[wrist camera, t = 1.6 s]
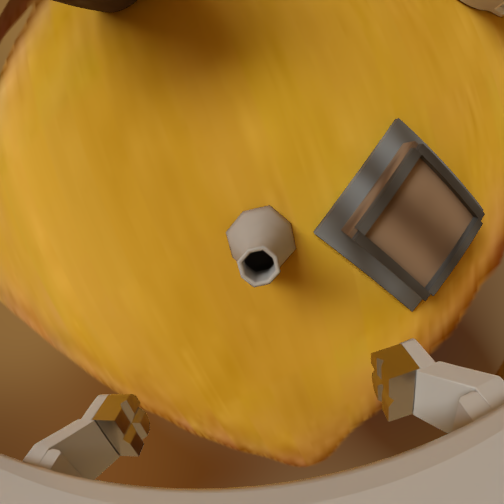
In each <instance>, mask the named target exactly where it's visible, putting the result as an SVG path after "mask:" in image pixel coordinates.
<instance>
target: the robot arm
mask: <svg viewBox="0 0 504 504" xmlns="http://www.w3.org/2000/svg"><path fill="white" fill-rule="evenodd" d="M460 1H462V2H463V3H465V4H467V5H469V6H471V7H473V8H476V9H480V10H487V11H490V12H492V13H494V14H496V15H498V16H500V17H502V16H503V15H504V0H460ZM371 364H372V366H373V368H374V371H373V373H372V382H373V387H374V391H375V394H376V396H377V399H378V400H379V401H382V409H383V411H384V414H385V415H386V418H387V420H388V422H389V421H392V420H395V419H399V418H402V417H405V416H408V415H411V414H413V415H415V416H416V417H418V418H420V419H422V420H424V421H425V422H427V423H429V424H431V425H433V426H435V427H437V428H438V429H440V430H442V431H444V432H446V433H448V434H447V435H444V436H442V437H440V438H438V439H436V440H433V441H431V442H429V443H427V444H424V445H421V446H419V447H416V448H414V449H411V450H408V451H406V452H403V453H400V454H397V455H395V456H392V457H389V458H386V459H383V460H379V461H376V462H373V463H370V464H367V465H363V466H360V467H356V468H352V469H348V470H344V471H341V472H336V473H332V474H327V475H323V476H318V477H313V478H308V479H302V480H296V481H290V482H283V483H276V484H268V485H259V486H248V487H235V488H214V489H179V488H176V489H175V488H158V487H145V486H135V485H126V484H118V483H111V482H105V481H99V480H94V479H95V478H96V477H98V476H99V475H100V474H101V473H102V472H103V471H104V470H105V469H107V468H108V467H109V466H110V465H111V464H112V463H113V462H114V461H115V460H117V459H118V458H119V456H139V455H140V452H141V450H142V448H143V445H144V443H143V440H142V439H143V438H145V437H146V436H147V435H148V433H149V430H150V422H149V418H148V416H147V414H146V412H145V411H144V410H142V409H141V408H139V406H140V402H139V400H138V398H137V397H136V396H135V395H133V394H111V395H110V394H104V395H102V394H101V395H98V396H97V397H96V399H95V400H94V402H93V403H92V404H91V406H90V407H89V409H88V410H87V411H86V413H85V414H84V416H83V417H82V419H81V420H79V419H78V420H76V421H74V422H73V423H71V424H70V425H68V426H66V427H64V428H63V429H61V430H59V431H57V432H56V433H54V434H52V435H50V436H48V437H47V438H45V439H43V440H41V441H40V442H38V443H36V444H35V445H34V446H33V447H32V449H31V450H30V451H29V453H28V454H27V456H26V457H25V458H24V460H23V461H20V460H17V459H14V458H11V457H8V456H6V455H3V454H1V453H0V504H504V381H503V379H502V378H501V377H500V376H497V375H493V374H488V373H484V372H480V371H476V370H472V369H468V368H464V367H460V366H456V365H452V364H448V363H444V362H441V361H439V362H435V361H434V360H433V359H432V358H431V357H430V355H429V354H428V353H427V352H426V351H425V350H424V349H423V347H422V346H421V345H420V344H419V343H418V342H417V341H416V339H410V340H407V341H405V342H402V343H400V344H398V345H395V346H392V347H389V348H386V349H382V350H379V351H376V352H373V353H371Z"/></svg>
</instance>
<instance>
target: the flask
mask: <svg viewBox="0 0 504 504" xmlns="http://www.w3.org/2000/svg"><path fill="white" fill-rule="evenodd" d="M226 235H227V238H228V242H229V246H230V250H231V253H232V257H233V258H234V259H235V260H236V261H237V264H238V267H239V271H240V275H241V278H243V279H244V280H245V281H247V282H248V283H249V284H250V285H252V286H253V287H257V286H262V285H267V284H270V283H271V282H272V281H273V280H274V279H275V277H276V276H277V275H278V274H279V273H280V266H281V265H282V264H283V263H284V262H285V261H286V259H287V258H288V257H289V256H290V255H291V254H292V253H293V251H294V250H295V249H296V246H295V241H294V237H293V232H292V228H291V223H290V222H289V221H288V220H287V219H285V218H284V217H283V216H282V215H281V214H279V213H278V212H277V211H276V210H275V209H273V208H272V207H271V206H270V205H269V206H264V207H260V208H256V209H252V210H247V211H243V212H242V213H241V214H240V216H239V217H238V218H237V219H236V220H235V222H234V223H233V224H232V225H231V227H230V228H229V229H228V230H227V232H226Z"/></svg>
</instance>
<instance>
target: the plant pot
mask: <svg viewBox="0 0 504 504" xmlns="http://www.w3.org/2000/svg"><path fill="white" fill-rule="evenodd" d="M53 1H57V2H61V3H64V4H68V5H72V6H76V7H80V8H85V9H90V10H96V11H102V12H116V11H120V10H122V9H125V8H126V7H128V6H130V5H131V4H133V3H134V2H135V1H137V0H53Z"/></svg>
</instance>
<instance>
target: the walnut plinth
mask: <svg viewBox="0 0 504 504" xmlns="http://www.w3.org/2000/svg"><path fill="white" fill-rule="evenodd" d="M483 216H484V212H483V209H482V207H481V206H480V205H479V203H478V202H477V201H476V200H475V198H474V197H473V196H472V195H471V193H470V192H469V191H468V190H467V189H466V187H465V186H464V185H463V184H462V183H461V181H460V180H459V179H458V178H457V177H456V176H455V175H454V173H453V172H452V171H451V170H450V169H449V168H448V167H447V166H446V165H445V163H444V162H443V161H442V160H441V159H440V158H439V157H438V156H437V155H436V154H435V153H434V152H433V151H432V150H431V149H430V148H429V147H428V146H427V145H426V144H425V143H424V142H423V141H422V140H421V139H420V138H419V137H418V136H417V135H416V134H415V133H414V132H413V131H412V130H411V129H410V128H409V127H408V126H407V125H406V124H405V123H403V122H402V121H401V120H400V119H399V118H398V119H395V120H394V122H393V123H392V125H391V126H390V127H389V129H388V130H387V132H386V133H385V135H384V136H383V137H382V139H381V140H380V142H379V143H378V145H377V146H376V147H375V149H374V150H373V152H372V153H371V154H370V156H369V157H368V159H367V160H366V161H365V163H364V164H363V166H362V167H361V168H360V170H359V171H358V173H357V174H356V175H355V177H354V178H353V179H352V181H351V182H350V183H349V185H348V186H347V188H346V189H345V190H344V192H343V193H342V194H341V196H340V197H339V198H338V200H337V201H336V203H335V204H334V205H333V207H332V208H331V209H330V211H329V212H328V213H327V215H326V216H325V217H324V219H323V220H322V221H321V223H320V224H319V225H318V227H317V228H316V229H315V231H314V234H316V235H317V236H318V237H320V238H321V239H322V240H324V241H325V242H326V243H327V244H329V245H330V246H331V247H333V248H334V249H335V250H337V251H338V252H339V253H340V254H342V255H343V256H344V257H346V258H347V259H348V260H349V261H351V262H352V263H353V264H355V265H356V266H357V267H358V268H360V269H361V270H362V271H363V272H365V273H366V274H367V275H368V276H370V277H371V278H372V279H373V280H375V281H376V282H377V283H378V284H380V285H381V286H382V287H383V288H384V289H386V290H387V291H388V292H389V293H391V294H392V295H393V296H394V297H395V298H397V299H398V300H399V301H400V302H401V303H403V304H404V305H405V306H406V307H407V308H409V309H410V310H411V311H413V310H414V309H415V308H416V306H417V305H418V304H419V303H420V301H421V300H422V299H423V300H424V301H426V300H427V298H428V297H429V296H430V294H431V295H432V296H434V295H435V293H436V292H437V291H438V290H439V288H440V287H441V286H442V284H443V283H444V281H445V280H446V279H447V277H448V276H449V275H450V273H451V272H452V270H453V269H454V267H455V266H456V265H457V263H458V262H459V260H460V259H461V257H462V256H463V254H464V253H465V251H466V250H467V248H468V247H469V245H470V244H471V242H472V241H473V239H474V237H475V236H476V234H477V233H478V231H479V229H480V228H481V226H482V224H483V223H482V222H481V220H482V218H483Z"/></svg>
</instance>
